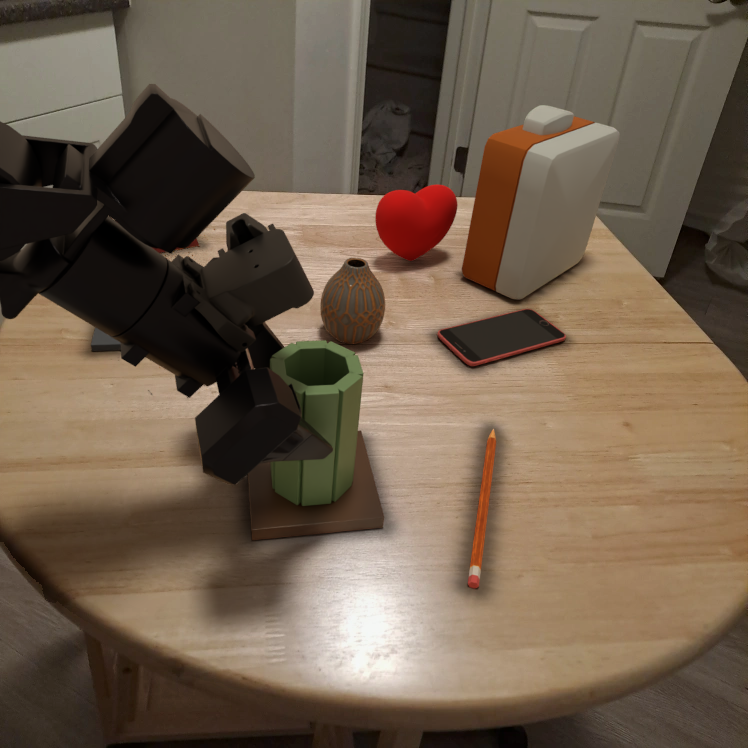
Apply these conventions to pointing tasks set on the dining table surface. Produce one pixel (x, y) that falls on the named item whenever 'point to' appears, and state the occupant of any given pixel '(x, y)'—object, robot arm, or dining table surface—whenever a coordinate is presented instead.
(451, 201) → the heart
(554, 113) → the alarm clock
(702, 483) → the dining table surface
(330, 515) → the peg stand
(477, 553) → the pencil
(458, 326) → the smartphone
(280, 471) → the green octagonal pen cup
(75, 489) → the dining table surface
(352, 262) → the vase
